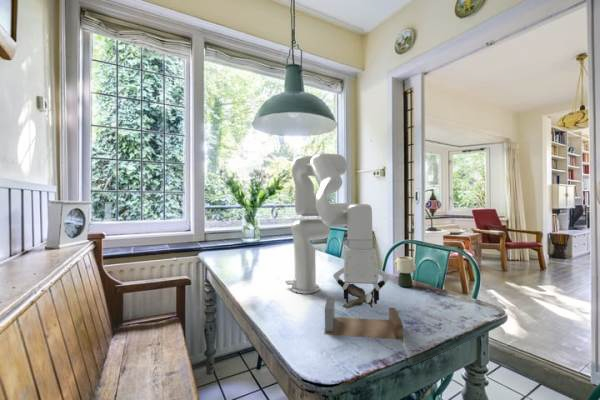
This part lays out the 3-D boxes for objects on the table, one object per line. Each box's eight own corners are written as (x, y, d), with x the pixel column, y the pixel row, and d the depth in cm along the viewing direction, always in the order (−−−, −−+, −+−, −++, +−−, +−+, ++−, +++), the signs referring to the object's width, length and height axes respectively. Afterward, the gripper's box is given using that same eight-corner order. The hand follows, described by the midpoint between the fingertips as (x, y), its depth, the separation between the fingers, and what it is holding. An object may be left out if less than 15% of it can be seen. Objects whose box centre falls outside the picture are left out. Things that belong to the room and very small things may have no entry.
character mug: (420, 287, 125) (420, 258, 125) (411, 290, 120) (411, 261, 120) (399, 281, 133) (399, 255, 133) (390, 284, 129) (390, 257, 129)
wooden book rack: (324, 339, 80) (323, 320, 80) (327, 321, 92) (326, 304, 92) (403, 344, 77) (402, 325, 77) (395, 325, 88) (395, 308, 88)
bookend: (325, 332, 81) (324, 308, 81) (327, 317, 91) (327, 296, 91) (333, 332, 81) (332, 309, 81) (334, 318, 91) (334, 297, 91)
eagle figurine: (371, 297, 88) (343, 291, 90) (375, 283, 84) (346, 276, 86) (371, 318, 82) (340, 311, 83) (376, 303, 78) (344, 296, 79)
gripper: (330, 246, 82) (331, 305, 82) (391, 246, 79) (392, 307, 79) (332, 242, 89) (333, 296, 89) (387, 242, 87) (389, 298, 87)
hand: (361, 301), depth 84 cm, fingers closed on eagle figurine, 7 cm apart
